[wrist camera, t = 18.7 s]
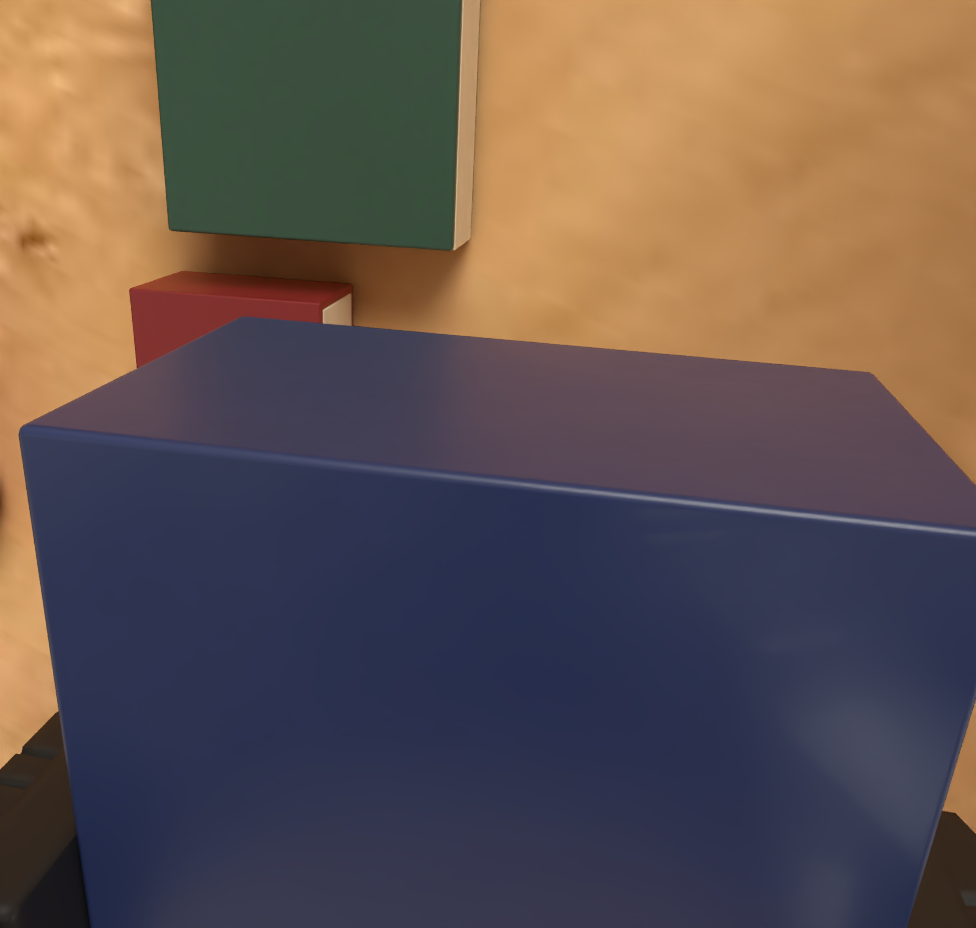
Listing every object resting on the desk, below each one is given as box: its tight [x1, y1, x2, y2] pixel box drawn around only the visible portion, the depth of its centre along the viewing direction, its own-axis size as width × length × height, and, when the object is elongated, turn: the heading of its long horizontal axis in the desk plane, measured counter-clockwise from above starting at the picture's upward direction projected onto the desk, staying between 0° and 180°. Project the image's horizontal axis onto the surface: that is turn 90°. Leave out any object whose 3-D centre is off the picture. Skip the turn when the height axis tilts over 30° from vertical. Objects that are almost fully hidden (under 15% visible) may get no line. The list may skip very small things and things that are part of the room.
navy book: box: [19, 316, 976, 928], centre depth 9 cm, size 9×6×4 cm
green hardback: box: [151, 0, 481, 251], centre depth 24 cm, size 10×8×3 cm
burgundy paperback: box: [129, 271, 353, 368], centre depth 28 cm, size 8×6×3 cm
